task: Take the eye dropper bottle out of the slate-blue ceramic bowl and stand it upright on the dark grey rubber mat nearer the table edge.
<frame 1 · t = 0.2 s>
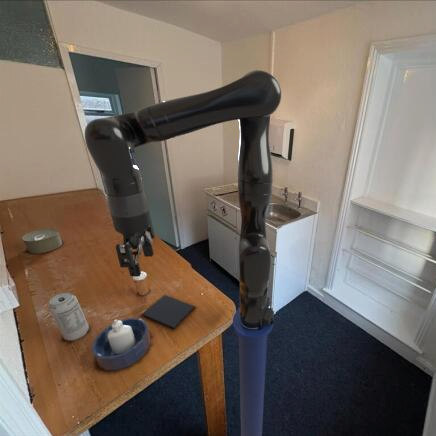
hand: (143, 265, 61), 29 cm above the table, tool pointing down, fingers open, 8 cm apart
bowl: (125, 348, 71), on the table
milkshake: (143, 293, 91), on the table
eye dropper bottle: (125, 348, 71), resting on bowl
mat: (169, 311, 84), on the table
energy drink can: (77, 334, 74), on the table
can: (46, 247, 112), on the table
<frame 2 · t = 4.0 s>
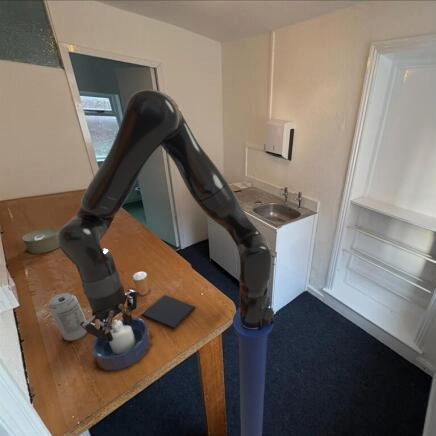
hand: (119, 331, 67), 8 cm above the table, tool pointing down, fingers closed on eye dropper bottle, 5 cm apart
eye dropper bottle: (125, 348, 71), resting on bowl, touching gripper
everything else where it was.
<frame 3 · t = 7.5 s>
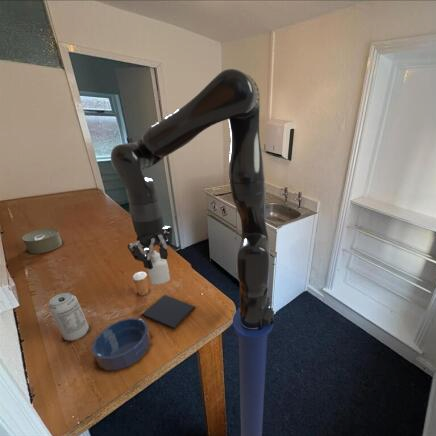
hand: (157, 263, 74), 22 cm above the table, tool pointing down, fingers closed on eye dropper bottle, 5 cm apart
eye dropper bottle: (160, 281, 77), point 15 cm above the table, touching gripper
everything else where it was.
when the fingers open (8 cm above the table, at t = 11.2 s): eye dropper bottle stays where it is, resting on mat.
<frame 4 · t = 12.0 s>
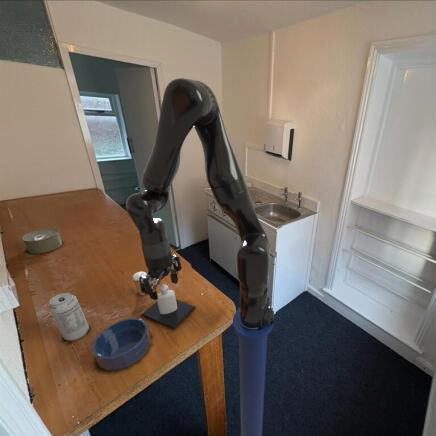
hand: (165, 290, 80), 10 cm above the table, tool pointing down, fingers open, 8 cm apart
eye dropper bottle: (168, 310, 84), point 1 cm above the table, touching mat
everything else where it was.
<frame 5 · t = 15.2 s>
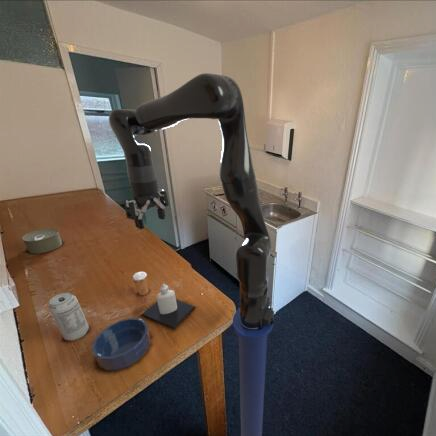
hand: (151, 223, 81), 30 cm above the table, tool pointing down, fingers open, 8 cm apart
nothing on the table moved.
at the end: eye dropper bottle inside the target area on the mat (0.0 cm from its centre), point 0.6 cm above the mat's base; eye dropper bottle tilted 0°; the gripper is holding nothing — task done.
